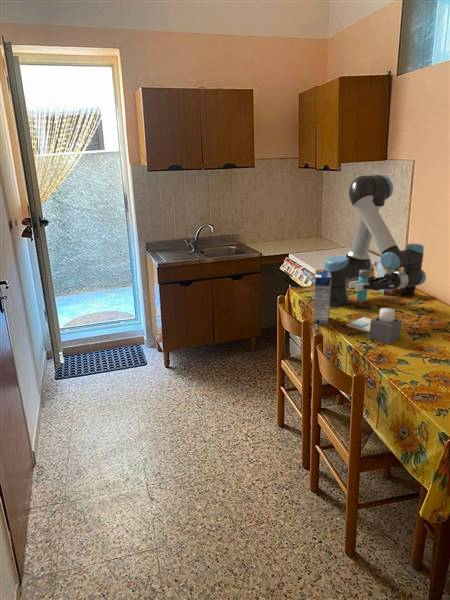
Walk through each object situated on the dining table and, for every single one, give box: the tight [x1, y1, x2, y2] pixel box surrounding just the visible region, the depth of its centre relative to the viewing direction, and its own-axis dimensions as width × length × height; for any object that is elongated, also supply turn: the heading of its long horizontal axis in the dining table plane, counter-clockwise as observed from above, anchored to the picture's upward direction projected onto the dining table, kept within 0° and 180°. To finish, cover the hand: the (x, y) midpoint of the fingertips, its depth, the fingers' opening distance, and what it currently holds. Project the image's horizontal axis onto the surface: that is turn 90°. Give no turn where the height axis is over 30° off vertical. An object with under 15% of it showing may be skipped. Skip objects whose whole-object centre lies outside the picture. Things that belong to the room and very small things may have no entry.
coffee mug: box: [400, 286, 417, 298], centre depth 245 cm, size 12×9×10 cm
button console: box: [368, 316, 403, 345], centre depth 187 cm, size 9×9×8 cm
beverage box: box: [312, 271, 331, 326], centre depth 205 cm, size 7×11×22 cm, turn 169°
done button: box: [378, 307, 396, 324], centre depth 185 cm, size 6×6×5 cm
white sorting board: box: [346, 316, 373, 334], centre depth 202 cm, size 14×14×1 cm
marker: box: [356, 270, 370, 302], centre depth 197 cm, size 4×4×13 cm
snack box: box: [372, 259, 397, 296], centre depth 254 cm, size 21×6×15 cm, turn 179°
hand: (353, 286), depth 195 cm, fingers closed on marker, 4 cm apart
